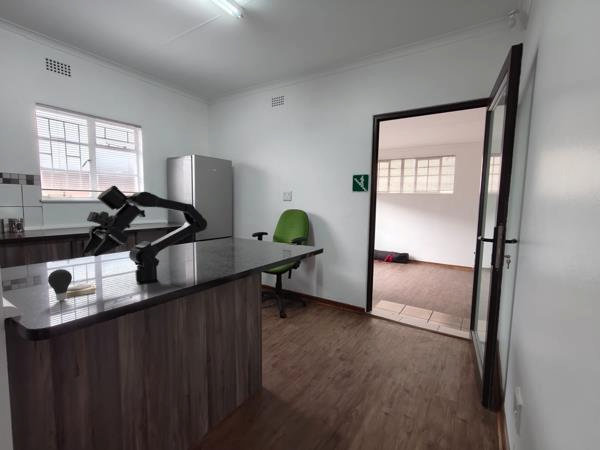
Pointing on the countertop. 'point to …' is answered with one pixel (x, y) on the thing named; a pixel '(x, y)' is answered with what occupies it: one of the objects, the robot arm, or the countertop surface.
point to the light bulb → (60, 283)
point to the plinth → (80, 289)
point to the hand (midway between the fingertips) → (88, 254)
